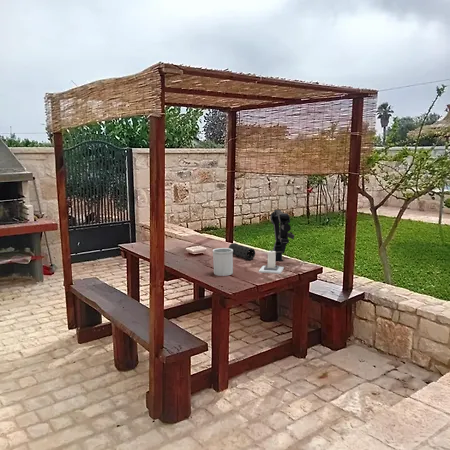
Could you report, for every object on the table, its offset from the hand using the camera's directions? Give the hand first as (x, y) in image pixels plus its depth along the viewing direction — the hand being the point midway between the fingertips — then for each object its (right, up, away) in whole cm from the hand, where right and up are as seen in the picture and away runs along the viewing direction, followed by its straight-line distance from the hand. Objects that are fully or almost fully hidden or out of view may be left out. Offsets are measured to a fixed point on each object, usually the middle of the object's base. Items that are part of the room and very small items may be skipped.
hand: (283, 249), depth 335 cm
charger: (-11, -14, -16) cm, 24 cm away
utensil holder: (-47, -16, -24) cm, 55 cm away
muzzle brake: (-32, -9, +28) cm, 43 cm away
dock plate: (-11, -15, -16) cm, 24 cm away
